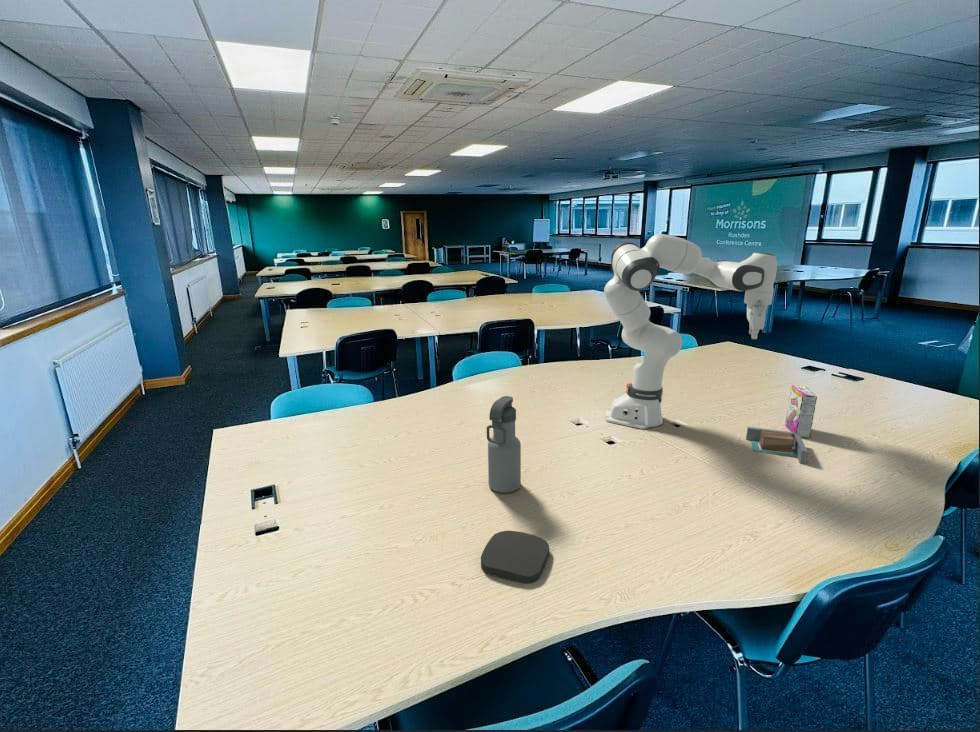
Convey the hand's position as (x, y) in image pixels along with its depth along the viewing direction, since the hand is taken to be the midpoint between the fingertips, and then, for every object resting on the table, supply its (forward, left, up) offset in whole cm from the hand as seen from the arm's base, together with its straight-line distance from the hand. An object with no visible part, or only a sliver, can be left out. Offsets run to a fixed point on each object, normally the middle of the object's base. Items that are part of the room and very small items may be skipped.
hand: (752, 336), depth 178 cm
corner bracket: (+9, -20, -35) cm, 41 cm away
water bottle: (-70, -74, -35) cm, 108 cm away
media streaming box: (-56, -104, -36) cm, 123 cm away
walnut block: (+9, -19, -35) cm, 41 cm away
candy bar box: (+19, 0, -35) cm, 40 cm away
